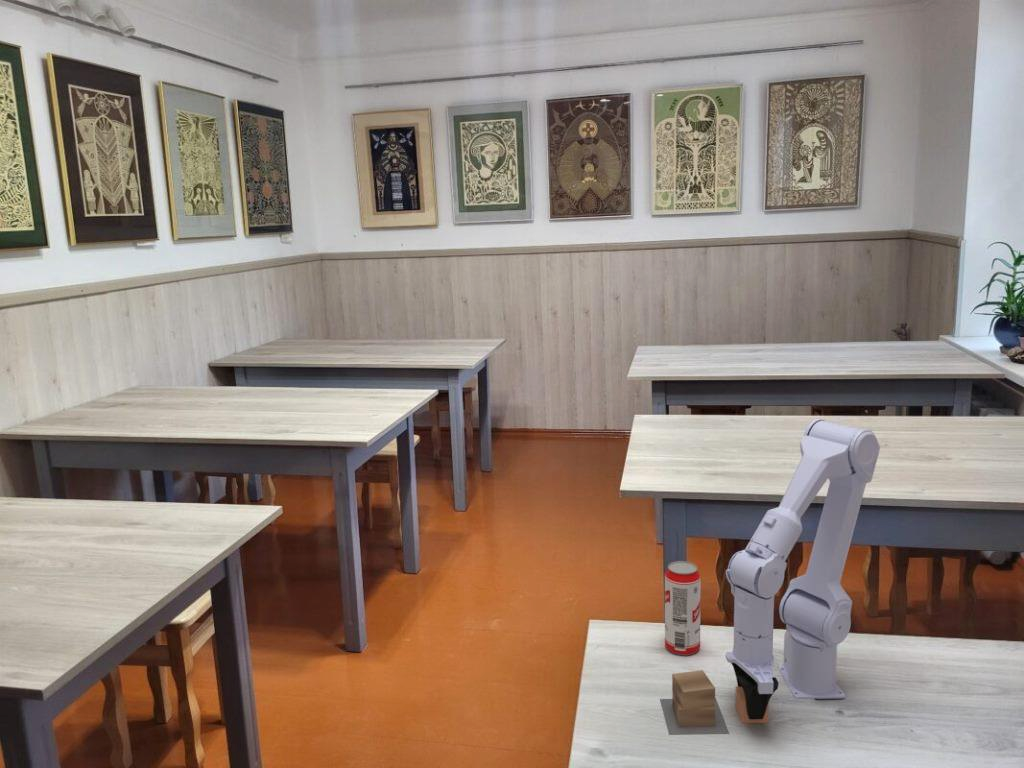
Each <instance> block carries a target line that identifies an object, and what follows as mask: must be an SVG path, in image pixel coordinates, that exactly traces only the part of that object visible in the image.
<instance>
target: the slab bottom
mask: <svg viewBox="0 0 1024 768" xmlns="http://www.w3.org/2000/svg"><path fill="white" fill-rule="evenodd" d="M671 692H672V695H671V696H672V697H671V699H672V705H673V709H674V712H675V716H676V719H677V723H678V726H679V727H711V726H715V707H714V706H710V707H703V708H695V709H687V710H683V708H682V706H681V705H680V703H679V701H678V700H677V698H676V696H675V695H674V693H673V691H672V690H671Z"/></svg>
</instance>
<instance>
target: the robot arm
mask: <svg viewBox="0 0 1024 768" xmlns="http://www.w3.org/2000/svg"><path fill="white" fill-rule="evenodd" d="M799 444H800V445H799V449H800V453H801V458H800V461H799V463H798V464H797V467H796V469H795V471H794V473H793V476H792V477H791V479H790V482H789V484H788V486H787V488H786V490H785V493H784V494H783V497H782V499H781V501H780V503H779V505H778V507H774V508H772V509H768V510H767V511H766V513H765V514H764V516H763V517H762V519H761V521H760V522H759V525H758V527H757V528H756V530H755V531H754V533H753V535H752V537H751V538H750V539H749V540H750V541H749V542H748V543H747V545H746V547H745V549H743V550H739V551H737V552H735V553H734V554H733V555H732V557H731V558H730V560H729V562H728V566H727V569H726V570H725V576H726V580H727V582H728V583H729V584H730V593H731V594H732V596H733V597H734V601H733V602H734V605H733V606H734V607H733V648H732V651H727V652H725V659H726V662H727V663H730V664H731V666H732V667H733V671H734V673H735V674H734V675H735V679H736V683H737V684H736V685H737V687H741V686H742V688H743V691H744V695H745V701H746V709H747V713H748V717H749V719H763V717H764V715H765V712H766V708H767V705H768V702H769V703H770V700H771V698H772V696H773V695H774V694H775V692H776V691H777V690H778V688H779V681H778V680H777V678H776V677H775V676H774V677H773V672H774V662H775V657H774V653H773V650H774V649H773V648H774V613H775V611H774V609H775V595H776V594H777V593H778V592H779V591H780V589H781V588H782V587H783V583H784V579H785V573H786V572H785V571H786V569H787V566H788V563H787V562H786V560H787V559H788V557H789V555H790V553H791V552H792V550H793V549H794V546H795V545H796V543H797V541H798V540H799V538H800V536H801V534H802V532H803V525H802V522H801V518H802V516H804V514H805V512H806V511H807V509H808V508H809V507H810V505H811V504H812V502H814V499H815V498H816V496H817V495H818V494H819V492H820V490H821V489H822V487H824V485H825V483H826V482H827V481H828V480H829V484H828V488H827V492H826V497H825V500H824V503H823V508H822V510H821V514H820V518H819V522H818V526H817V530H816V534H815V537H814V541H813V545H812V549H811V552H810V555H809V560H808V564H807V567H806V568H807V569H806V572H805V574H802V575H800V576H798V577H795V578H792V579H791V580H790V581H789V584H788V588H787V589H786V592H785V594H784V595H783V596H782V598H781V600H780V603H779V609H778V611H779V613H778V614H779V618H780V620H781V622H782V623H783V624H786V625H785V632H784V636H783V637H784V640H783V664H782V663H781V664H778V665H777V669H778V671H779V672H780V674H781V675H782V677H783V679H784V682H786V685H787V686H788V688H789V690H790V692H791V694H792V696H793V697H794V698H795V699H815V700H820V699H823V700H824V699H825V700H826V699H845V696H846V694H845V693H844V691H843V690H842V689H841V687H840V685H839V684H838V683H837V682H838V681H837V679H836V675H837V656H838V655H837V653H838V645H839V644H841V643H842V642H843V641H844V640H845V639H846V638H847V636H848V635H849V632H850V629H851V624H852V621H851V612H852V605H853V601H852V599H851V598H850V596H849V595H848V594H847V592H846V591H845V590H844V588H843V586H842V585H841V580H842V576H843V572H844V569H845V565H846V561H847V558H848V554H849V549H850V546H851V542H852V539H853V535H854V532H855V531H854V530H855V527H856V523H857V519H858V516H859V513H860V510H861V509H860V508H861V504H862V500H863V497H864V493H865V489H866V485H867V484H868V483H871V482H872V480H873V475H874V473H875V469H876V465H877V462H878V457H879V454H880V449H881V446H880V443H879V442H878V439H877V436H876V435H875V433H874V432H873V430H871V429H868V428H860V427H859V428H857V427H854V426H849V425H845V424H840V423H835V422H831V421H826V420H825V419H821V418H816V419H814V420H813V421H811V422H810V423H809V425H808V426H807V427H806V428H805V430H804V432H803V437H802V438H801V439H800V442H799Z"/></svg>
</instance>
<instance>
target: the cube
mask: <svg viewBox="0 0 1024 768" xmlns="http://www.w3.org/2000/svg"><path fill="white" fill-rule="evenodd" d="M734 695H735V698H734V699H735V703H734V705H735V706H734V707H735V710H736V713H737V715H738V718H739V719H740V722H741V724H762V723H764V724H766V723H769V712H770V711H769V704H770V701H769V702H768V705H767V708H766V712H765V715H764V717H763V719H749V717H748V713H747V709H746V701H745V695H744V691H743V688H742V686H741V687H738V686H735V694H734Z"/></svg>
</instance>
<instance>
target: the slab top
mask: <svg viewBox="0 0 1024 768" xmlns="http://www.w3.org/2000/svg"><path fill="white" fill-rule="evenodd" d="M671 675H672V677H671V679H672V680H671V681H672V682H671V687H672V688H671V692H672V691H673V693H674V695H675V696H676V698H677V700H678V701H679V703H680V705H681V706H682V708H683V710H687V709H695V708H703V707H710V706H715V698H716V687H715V686H714V684H713V682H711V680H710V678H709V677H708V675H707V674H706V673H705V671H704V670H703V669H701V670H692V671H685V672H677V673H672V674H671Z"/></svg>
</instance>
